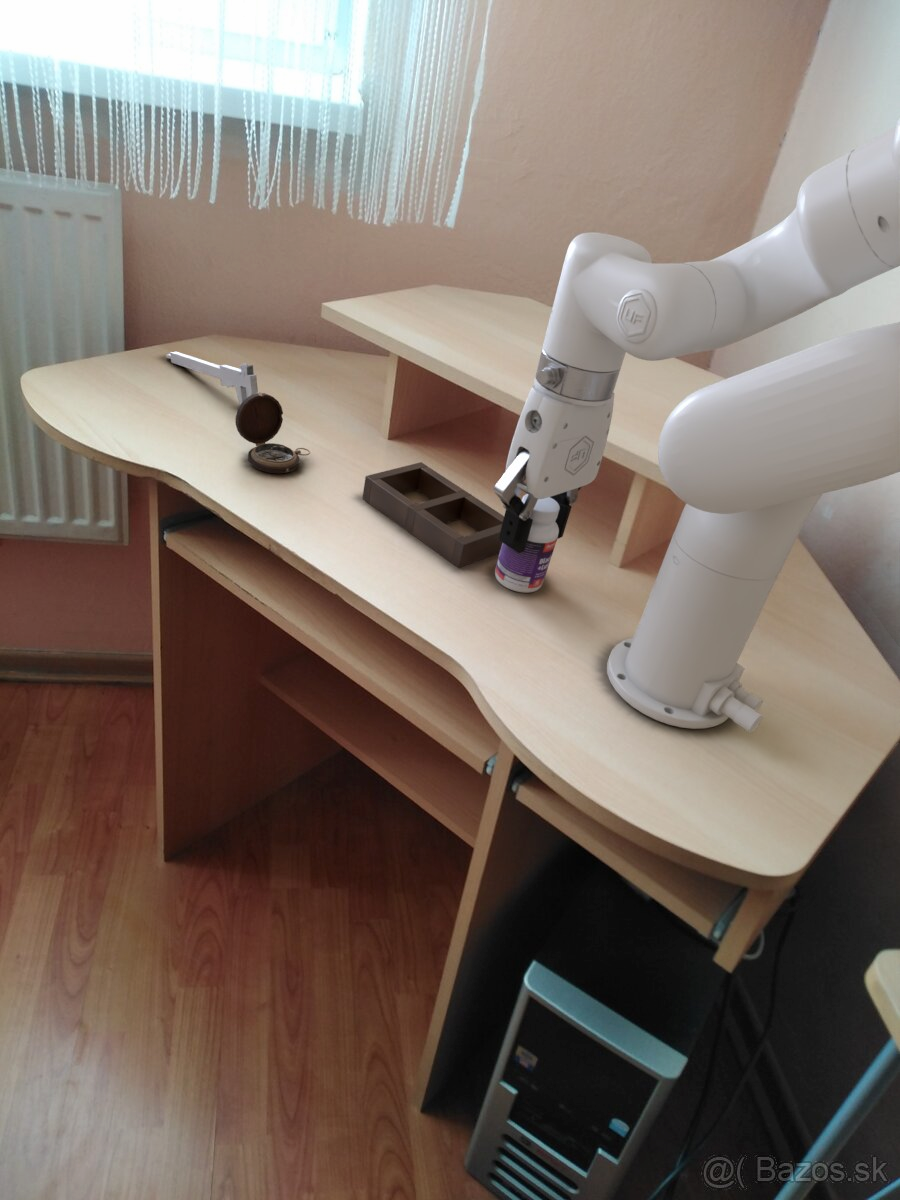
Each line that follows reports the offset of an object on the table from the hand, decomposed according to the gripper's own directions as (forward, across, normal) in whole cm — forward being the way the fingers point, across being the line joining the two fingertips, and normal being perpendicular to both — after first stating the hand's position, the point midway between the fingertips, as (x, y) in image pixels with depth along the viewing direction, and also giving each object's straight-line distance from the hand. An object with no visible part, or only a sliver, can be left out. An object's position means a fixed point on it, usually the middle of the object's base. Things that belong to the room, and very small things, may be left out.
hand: (531, 537), depth 94 cm
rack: (+6, 0, +13) cm, 14 cm away
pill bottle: (+6, 0, 0) cm, 6 cm away
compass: (+6, -8, +34) cm, 35 cm away
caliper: (+6, -4, +56) cm, 56 cm away
